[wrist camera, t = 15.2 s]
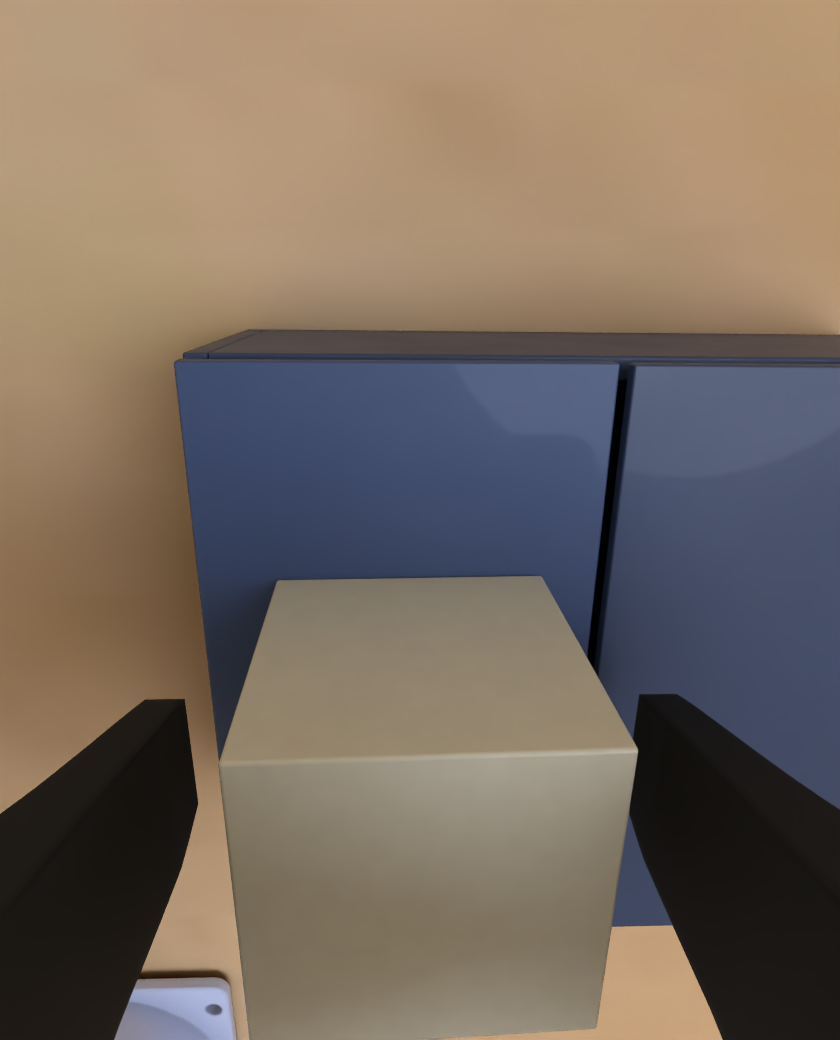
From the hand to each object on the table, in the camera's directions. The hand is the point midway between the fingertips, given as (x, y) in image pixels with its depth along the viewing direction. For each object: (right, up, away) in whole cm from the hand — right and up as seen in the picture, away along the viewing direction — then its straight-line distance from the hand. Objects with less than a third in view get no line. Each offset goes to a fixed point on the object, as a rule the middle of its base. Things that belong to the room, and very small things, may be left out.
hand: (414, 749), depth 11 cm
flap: (0, +1, +2) cm, 2 cm away
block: (0, +1, +1) cm, 2 cm away
